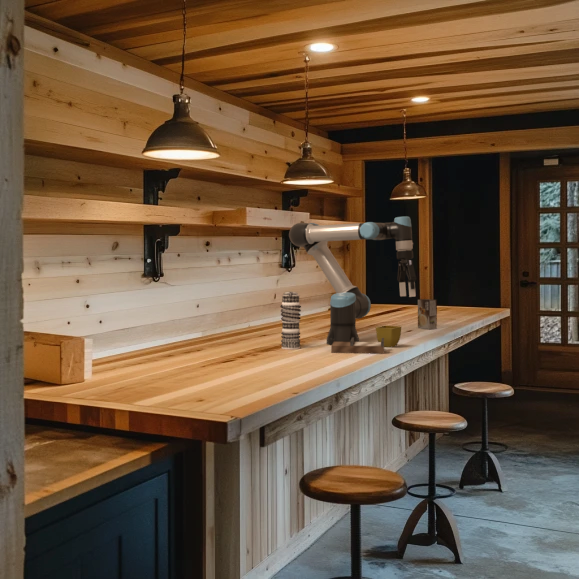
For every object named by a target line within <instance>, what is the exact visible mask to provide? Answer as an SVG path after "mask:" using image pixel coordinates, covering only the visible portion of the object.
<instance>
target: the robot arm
mask: <svg viewBox="0 0 579 579" xmlns="http://www.w3.org/2000/svg"><path fill="white" fill-rule="evenodd" d="M412 226H413V225H412V220H411V217H410V216H407V215H406V216H397V217H395V218H394V220H393V221H392V222H373V221H367V222H356V223H340V224H323V225H322V224H317V223H315V222H310V223H307V222H297V223H295V224H293V225H292V227H291V228H290V230H289V233H288V237H289V240H290V242H291V243H292V244H293V245H294V246H295V247H299V248H303V249H304V250H305V252H306V253H307V255H310V256H312V257H313V259H314V260H315V262H316V264H317V265H318V267H319V268H320V269H321V271H322V273H323V274H324V275H325V277H326V279H327V281H328V282H329V284H330V285H331V287H332V288H333V290H334V292H335V293H334V294H332V295H331V296H330V301H329V303H330V307H329V308H330V328H329V329H328V330H329V331H328V333H327V337H326V344H327V345H329V346H332V344H333V342H350V341H351V339H352V337H354V342H360V338H359V334H358V331H357V328H356V327H357V326H356V320H357V319H362V318H364V317H366V316H367V315H368V314H369V313H370V310H371V306H372V304H371V300H370V298H369V296H367V294H365V293H362V291H361V290H360V289H359V287H358V286H356V285H353V284H352V282H351V280H349V277H348V276H347V274H346V273H345V271H344V269H343V268H342V267H341V265H340V264H339V262H338V260H337V258H335V256H334V255H333V253H332V251H331V250H330V248H329V247H328V243H329V242H334V241H335V242H336V241H337V242H338V241H340V242H341V241H358V240H361V241H362V240H373V241H382V240H390V239H395V251H397V252H396V260H398V262H397V263H398V267H397V268H398V269H397V279H396V281H397V282H398V283H399V296H400V297H407V290H406V289H407V288H406V286H407V285H406V282H407V283H408V295H409V296H408V297H409V298H412V297H416V295H417V294H416V283H415V282H416V281H417V275H416V271H415V267H414V260H412V259H413V258H414V251H413V249H414V248H413V246H414V242H413V230H412ZM406 276H407V279H408V280H407V281H406Z"/></svg>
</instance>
